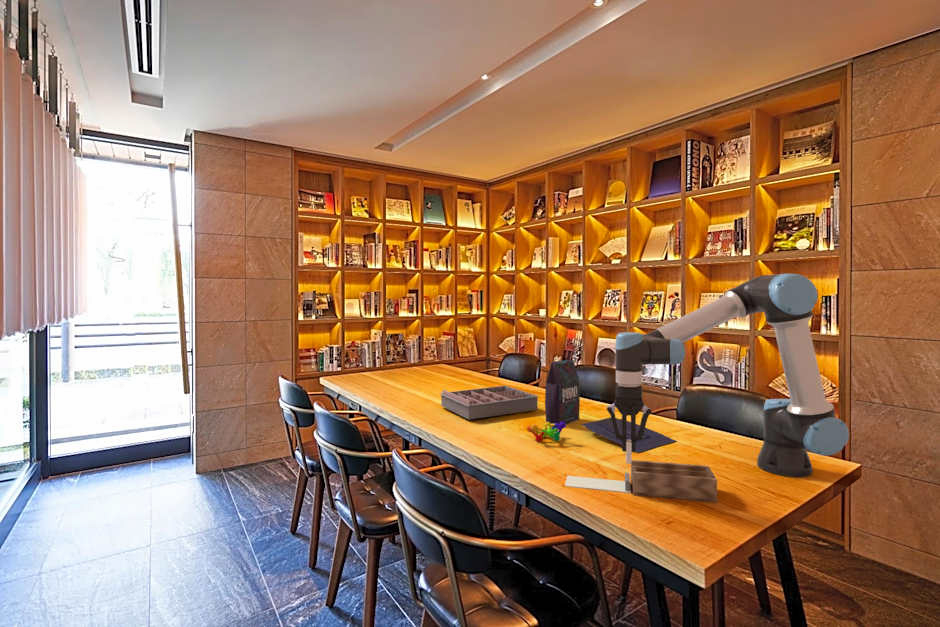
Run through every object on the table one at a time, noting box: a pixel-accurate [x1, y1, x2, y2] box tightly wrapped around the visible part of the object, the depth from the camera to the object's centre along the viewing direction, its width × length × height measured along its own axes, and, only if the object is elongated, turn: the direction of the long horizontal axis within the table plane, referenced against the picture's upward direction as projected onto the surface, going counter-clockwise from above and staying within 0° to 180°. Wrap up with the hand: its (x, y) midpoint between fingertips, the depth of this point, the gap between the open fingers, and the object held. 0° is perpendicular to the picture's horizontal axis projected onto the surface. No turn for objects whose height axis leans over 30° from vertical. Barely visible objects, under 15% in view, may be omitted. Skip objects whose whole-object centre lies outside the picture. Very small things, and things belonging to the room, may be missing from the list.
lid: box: [564, 472, 632, 494], centre depth 146 cm, size 19×8×4 cm, turn 73°
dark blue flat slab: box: [580, 416, 677, 454], centre depth 193 cm, size 24×30×4 cm
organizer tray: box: [439, 385, 540, 420], centre depth 241 cm, size 32×40×10 cm
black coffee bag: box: [544, 358, 581, 425], centre depth 217 cm, size 8×16×28 cm, turn 133°
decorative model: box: [526, 421, 567, 443], centre depth 190 cm, size 13×9×15 cm
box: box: [630, 459, 718, 504], centre depth 140 cm, size 22×11×6 cm, turn 75°
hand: (628, 462), depth 143 cm, fingers closed
